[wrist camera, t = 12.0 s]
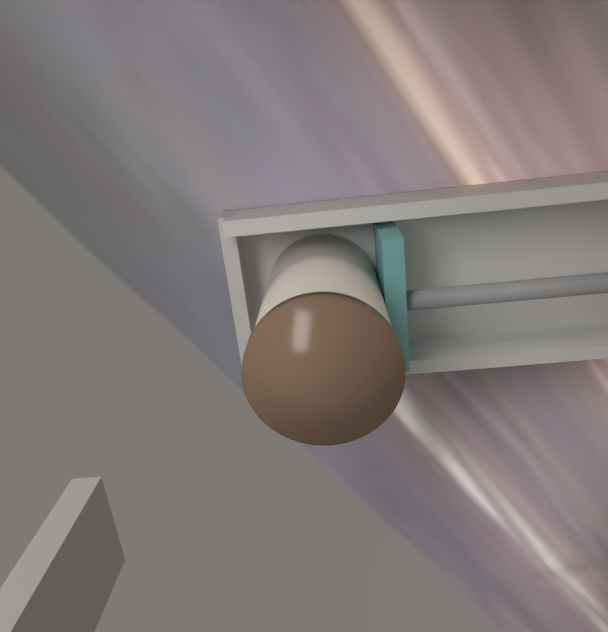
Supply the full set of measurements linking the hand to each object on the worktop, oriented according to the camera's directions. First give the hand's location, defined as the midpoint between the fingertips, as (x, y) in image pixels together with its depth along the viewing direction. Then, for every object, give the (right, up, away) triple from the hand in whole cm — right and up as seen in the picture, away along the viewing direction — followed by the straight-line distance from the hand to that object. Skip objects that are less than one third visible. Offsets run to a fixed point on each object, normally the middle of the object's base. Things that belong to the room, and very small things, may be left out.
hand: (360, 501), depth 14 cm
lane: (+6, +7, +17) cm, 19 cm away
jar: (0, +6, +17) cm, 18 cm away
